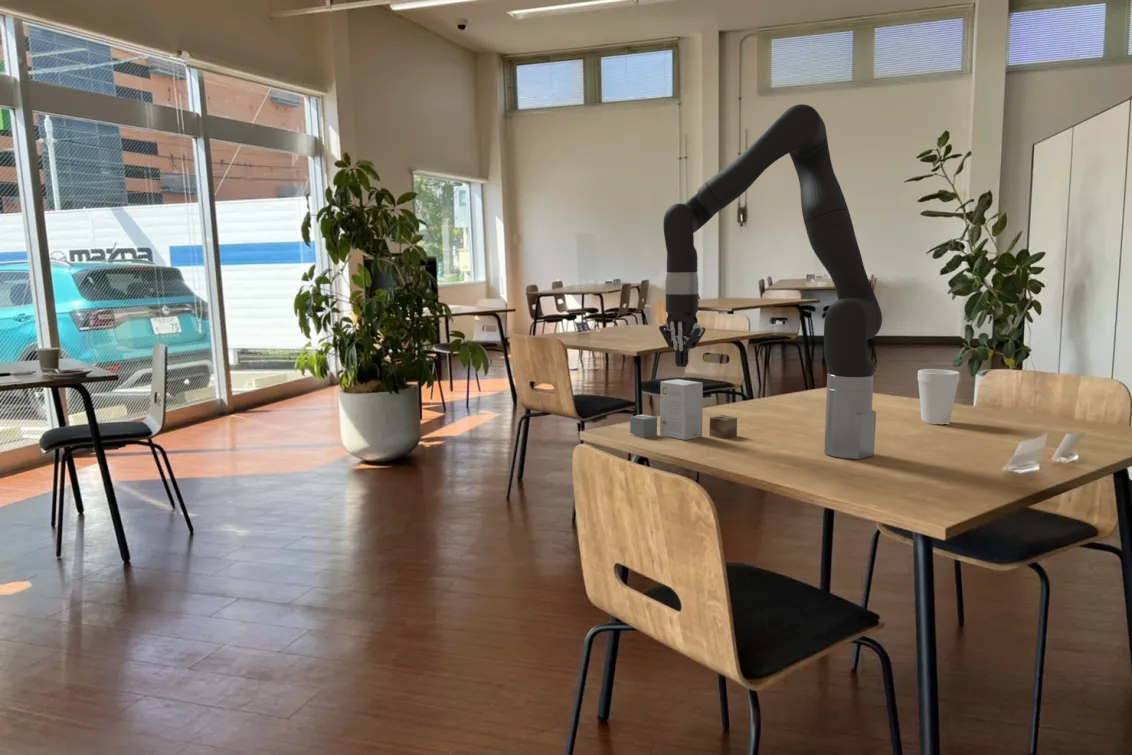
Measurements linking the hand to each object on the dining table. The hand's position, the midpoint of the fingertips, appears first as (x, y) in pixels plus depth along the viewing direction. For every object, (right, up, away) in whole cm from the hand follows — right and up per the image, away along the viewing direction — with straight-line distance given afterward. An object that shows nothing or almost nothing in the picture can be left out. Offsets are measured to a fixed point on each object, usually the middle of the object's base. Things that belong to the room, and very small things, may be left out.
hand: (681, 366), depth 189 cm
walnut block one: (+10, -17, +2) cm, 19 cm away
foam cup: (+66, -14, +15) cm, 69 cm away
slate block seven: (-9, -16, +4) cm, 19 cm away
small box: (0, -17, +3) cm, 17 cm away
